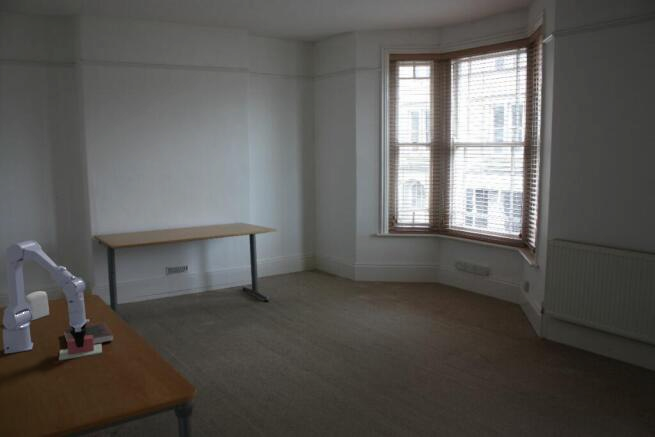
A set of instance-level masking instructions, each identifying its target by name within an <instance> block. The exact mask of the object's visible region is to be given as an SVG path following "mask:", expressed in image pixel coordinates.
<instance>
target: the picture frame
mask: <svg viewBox="0 0 655 437" xmlns="http://www.w3.org/2000/svg"><path fill="white" fill-rule="evenodd" d="M85 329H86V333H85V336H88V335H93V344H94V345H95V344H102V343H107V342H110V341H113V340H114V334H113V333H112V332H111V330H110V328H109V326H108V325H107V324H106V322H102V323H101V322H100V323H95V324H90V325H86V326H85ZM70 330H73V329H72V327H70V328H65V329H63V332H64V337H65V339H66V341H67V339H68V338H73V336H72V335H71V333H70Z"/></svg>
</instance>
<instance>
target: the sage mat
mask: <svg viewBox="0 0 655 437" xmlns="http://www.w3.org/2000/svg"><path fill="white" fill-rule="evenodd" d="M100 354H103V347H102V343H96V344H94V351H88V352H82V353H76V354H70V355H68V348H64V349H59V356H58V360H59V361H64V360H69V359H75V358H76V359H77V358H81V357H87V356H88V357H89V356H95V355H100Z"/></svg>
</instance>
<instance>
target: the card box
mask: <svg viewBox="0 0 655 437" xmlns="http://www.w3.org/2000/svg"><path fill="white" fill-rule="evenodd" d="M66 344H67V349H68V355H70V354H76V353H82V352H88V351H94V345H95V344H93V335H88V336H84V345H83V347H80V348H77V346H76V343H75V340H74V338H68V339H67V340H66Z"/></svg>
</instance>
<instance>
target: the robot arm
mask: <svg viewBox="0 0 655 437" xmlns="http://www.w3.org/2000/svg"><path fill="white" fill-rule="evenodd" d="M26 261H35V262H36V263H37V264H39V265H40V266H41V267H43V268H44V269H45V270H46V271H48V272H49V276H50V277H49V278H51V279H52V280H53V281H54V282H56V284H58V285H59V286H61V288H62V292H63V294H64V295H65V298H66V301H67V307H68V316H69V317H68V318H69V319H68V320H69V326H70V328H72V329H73V330H70V333H71V335H72V336H73V338H74V340H75V343H76V346H77V348H80V347H83V345H84V336H85V333H86V329H85V326H87V324H88V323H89V322H90V319H89V318H87V316H86V308H85V297H84V291H86V288H87V284H86V282H85V280H84V279H83V278H82V277H77V276H75V275H73V274H72V273H71V272H70V271H68V269H67V267H65V266H63V265H57V264H56V263H55V262H54V261H53V260H52V259H51V258H50V257H49V256H48V255H47V254H46V253H45V251H44V250H43V249H42V246H41V245H40V244H39V243H38V242H37V241H36V240H34V239H29V240H25V241H22V242H18V243H13V244H11V245H9V246H8V247H7V248H6V258H5V268H6V269H5V270H6V279H7V280H6V281H7V282H6V283H7V291H8V292H7V294H8V305H7V306H6V308H5V309H4V311H3V317H2V324H3V326H4V327H5V328H4V329H2V341H3V350H4V354H5V355H7V354H12V353H13V354H14V353H20V352H25V351H32V350H33V346H34V342H32V340H31V339H32V338H31V332H30V331H31V330H30V325H31V322H32V321H33V320H32V318H33V314H32V312H31V310H30V305H29V304H27V303H25V297H26V294H25V285H24V284H25V283H24V271H23V270H24V269H23V264H24V263H25V262H26ZM86 318H87V319H86ZM31 320H32V321H31Z"/></svg>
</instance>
